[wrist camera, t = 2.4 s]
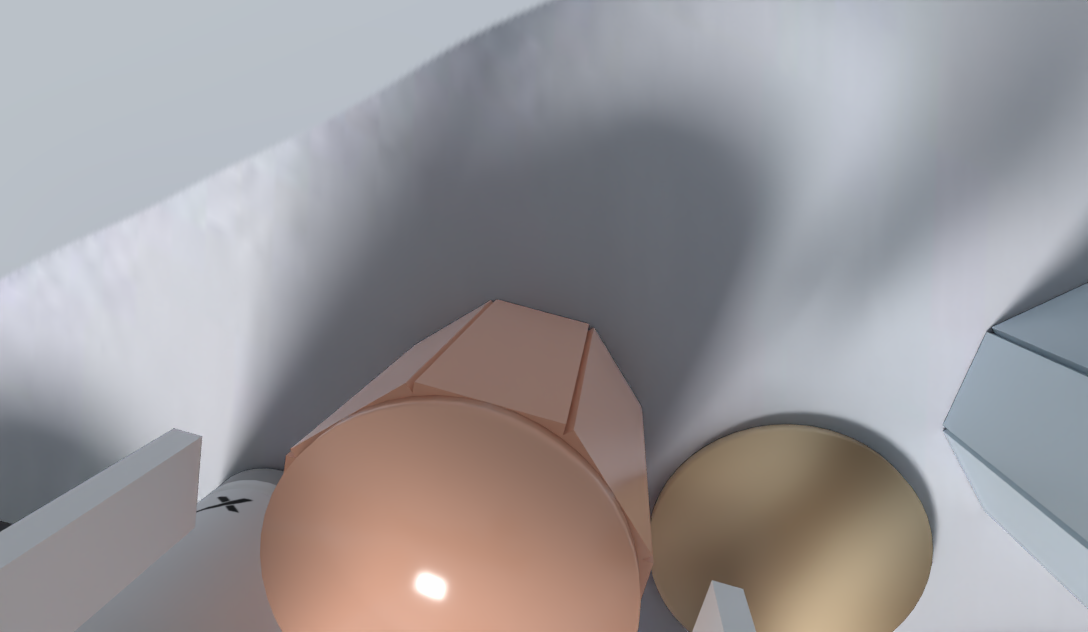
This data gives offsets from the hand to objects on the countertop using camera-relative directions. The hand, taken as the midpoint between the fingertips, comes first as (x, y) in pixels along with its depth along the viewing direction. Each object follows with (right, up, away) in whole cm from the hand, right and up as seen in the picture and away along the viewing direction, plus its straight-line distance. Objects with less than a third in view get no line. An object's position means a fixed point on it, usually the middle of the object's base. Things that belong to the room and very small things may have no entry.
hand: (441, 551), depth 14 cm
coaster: (+12, -3, +8) cm, 14 cm away
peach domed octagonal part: (+2, +2, +8) cm, 8 cm away
